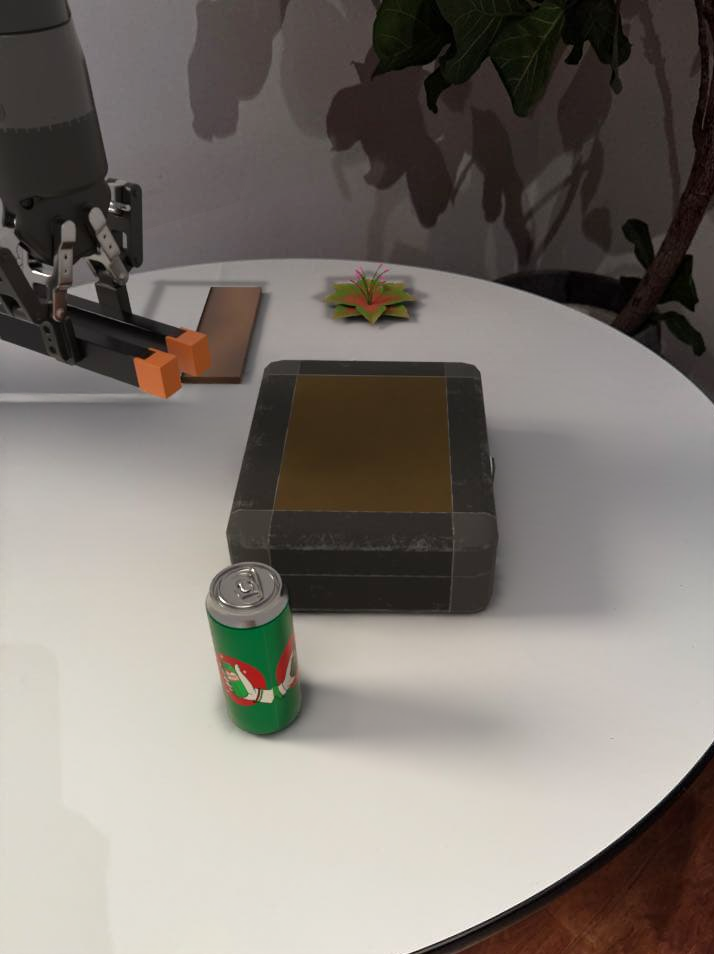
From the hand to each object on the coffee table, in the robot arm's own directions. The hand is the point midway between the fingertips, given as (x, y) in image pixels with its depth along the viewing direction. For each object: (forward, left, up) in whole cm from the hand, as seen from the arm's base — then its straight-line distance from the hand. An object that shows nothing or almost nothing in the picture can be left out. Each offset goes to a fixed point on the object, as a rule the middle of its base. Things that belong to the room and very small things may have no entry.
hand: (93, 343), depth 66 cm
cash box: (+21, -1, -15) cm, 26 cm away
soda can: (+14, -22, -15) cm, 31 cm away
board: (+1, +29, -15) cm, 32 cm away
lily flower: (+20, +36, -15) cm, 44 cm away
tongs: (0, 0, -1) cm, 1 cm away
